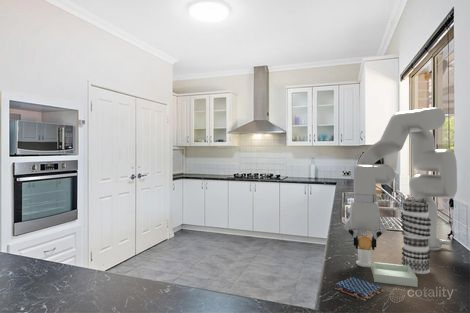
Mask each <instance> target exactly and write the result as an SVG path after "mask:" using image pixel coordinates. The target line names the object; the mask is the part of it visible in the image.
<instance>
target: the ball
mask: <svg viewBox="0 0 470 313" xmlns="http://www.w3.org/2000/svg"><path fill="white" fill-rule="evenodd" d="M358 247H360V248H361V249H365V250H368V249H370V248H371V249H372V238H371V237H369V236H367V235H361V236H359V237H358Z"/></svg>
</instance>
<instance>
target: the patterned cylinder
mask: <svg viewBox="0 0 470 313" xmlns="http://www.w3.org/2000/svg"><path fill="white" fill-rule="evenodd" d="M402 204H403V206H402V207H403V209H402V212H401V213H400V215H401V216H400V219H401V220H402V221H401V229H402V231H401V235H402V236H403V241H402V242H403V243H402V248H401V251H402V252H401V255H402V257H401V260H402V262H401V265H408V266H410V267H411V268H412V270H413V272H414V273H415V274H419V275H425V274H430V272H431V271H430V268H431V266H430V264H431V261H430V260H429V259H431V256H430V254H431V251H430V250H429V245H428V238H430V234H429V233H428V232H430V229H428V226H430V225H431V224H430V223H428V221H431V219H429V218H428V216H429V212H428V204H429V203H428V202H427V201H426V199H424V198H419V197H412V196H409V197H406V198H405V199H404V200H403V201H402Z"/></svg>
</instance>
